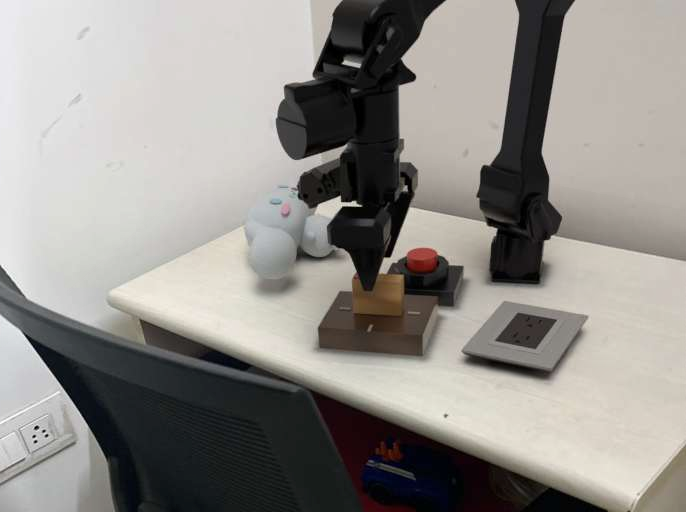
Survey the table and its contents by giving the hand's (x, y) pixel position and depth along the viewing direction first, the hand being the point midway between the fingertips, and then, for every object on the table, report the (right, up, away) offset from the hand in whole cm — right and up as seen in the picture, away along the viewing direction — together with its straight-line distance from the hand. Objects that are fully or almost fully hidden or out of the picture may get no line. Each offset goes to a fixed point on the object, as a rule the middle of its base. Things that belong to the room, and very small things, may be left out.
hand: (377, 273), depth 93 cm
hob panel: (+1, -6, +5) cm, 8 cm away
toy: (-10, +10, +26) cm, 29 cm away
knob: (0, -4, +3) cm, 5 cm away
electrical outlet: (+18, -9, -1) cm, 20 cm away
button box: (+7, +1, +13) cm, 15 cm away
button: (+7, +4, +10) cm, 13 cm away
